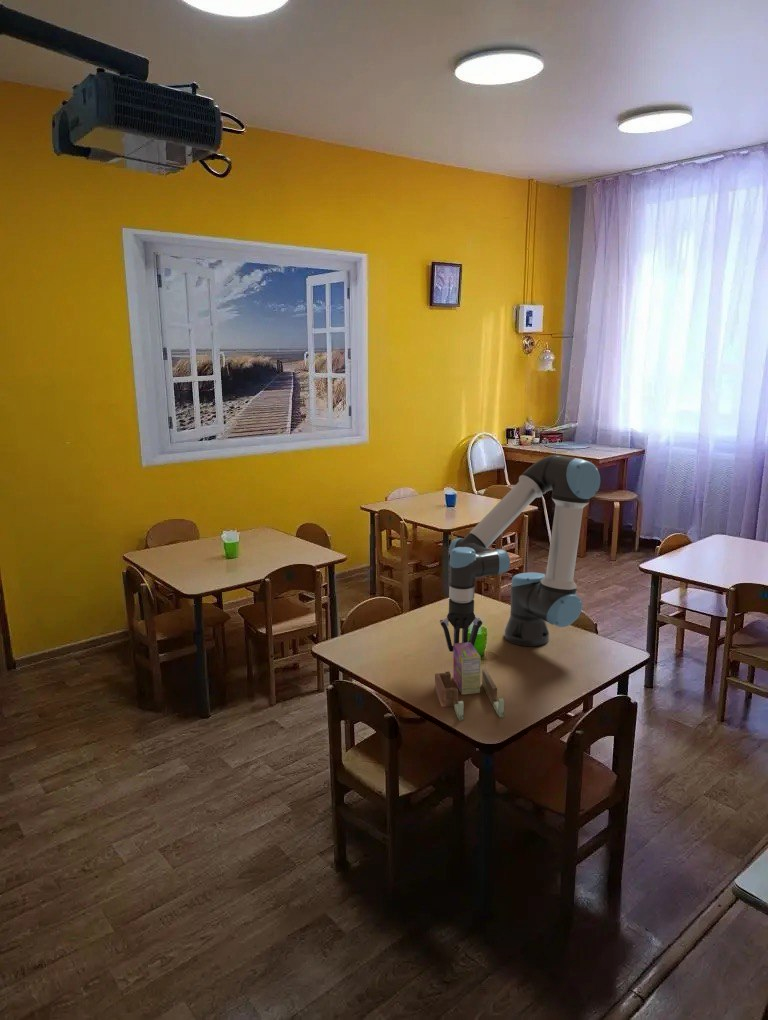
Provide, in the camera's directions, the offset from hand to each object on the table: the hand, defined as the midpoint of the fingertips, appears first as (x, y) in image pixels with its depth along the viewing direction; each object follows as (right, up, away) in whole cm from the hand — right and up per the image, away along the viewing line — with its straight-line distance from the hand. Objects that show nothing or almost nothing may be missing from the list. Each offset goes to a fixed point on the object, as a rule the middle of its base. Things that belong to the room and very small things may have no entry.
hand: (459, 671), depth 211 cm
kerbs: (+3, -7, -21) cm, 23 cm away
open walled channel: (0, -4, -12) cm, 13 cm away
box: (+1, -3, -6) cm, 7 cm away
